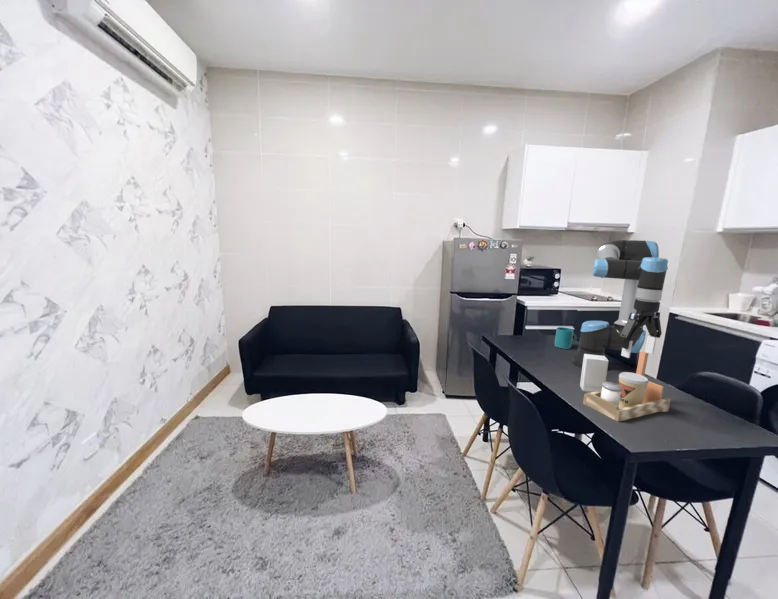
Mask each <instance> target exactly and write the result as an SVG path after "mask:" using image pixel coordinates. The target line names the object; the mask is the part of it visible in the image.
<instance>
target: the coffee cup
mask: <svg viewBox="0 0 778 599" xmlns="http://www.w3.org/2000/svg"><path fill="white" fill-rule="evenodd" d="M648 383H649V379H648V377H646V376H645V375H644V376H642V375H639V374H636V372H635V373H634V372H630V371H623V372H620V373H619V374H618V383H617V384H619V385H620V386H622V391H621V396H620V402H619V405H620V406H621V407H623V408H625V407H630V406H634V405H638V404H642V403H643V399H644V396H645V392H646V389H647V385H648Z"/></svg>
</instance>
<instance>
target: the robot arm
mask: <svg viewBox="0 0 778 599" xmlns="http://www.w3.org/2000/svg"><path fill="white" fill-rule="evenodd" d="M658 245H659V244H658V243H657V242H656V241H654V240H653V241H652V240H651V241H650V240H630V239H616V240H610V241H608V242H606V243H603V244H601V245H600V246H599V247H598V248H597V250H596V254H595V255H596V258H595V259H594V262H593V269H592V276H593V277H596V278H602V279H603V278H605V279H618V280H620V279H621V280H624V283H623V289H622V295H621V300H620V301H621V302H620V307H619V313H618V319H617V320H616V321H614V322H613V325H610V324H609V322H608V321H604V320H586V321H584V322H583V323H582V324H581V328H580V335H579V336H580V337H579V341H578V342H579V343H578V346H577V350H576V352H575V353H574V355H573V356H572V364H574V365H575V366H578V367H580V368H582V365H583V358H584V354H591V355H600V356H605V350H606V349H608V350H609V349H610V350H615V351H621V353H620V356H622V357H624V358H627V359H630V358H631V354H632V353H634V354H636V353H640V352H641V350H642V348H643V346H644V343H645V340H646V343H645V347H644V352H647V353H649V354H651V355H654V352H655V347H656V344H657V338H658V339H660V338H661V336H662V327H661V326H662V325H661V320H660V319H661V318H660V317H661V312H659V310H660V307H661V302H660V301H661V300H662V295H663V289H664V284H665V280H666V276H667V271H668V264H669V261H668V259H667V258H663V257H660V255H659V254H660V251H659V246H658ZM644 326H645V327H646V330H647V332H648V336H647V332H646V330H645V329H644V328H643V327H644ZM646 336H647V338H646ZM605 357H606V356H605Z"/></svg>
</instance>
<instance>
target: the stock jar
mask: <svg viewBox="0 0 778 599" xmlns="http://www.w3.org/2000/svg"><path fill="white" fill-rule="evenodd" d="M621 391H622V386H620V385H619V384H618V383H616V382H612V381H606V382H603V384H602V391H601V397H600V398H602V399H604V400H606V401H608V402H611V403H613V404H615V405H617V406H619V402H620V396H621Z"/></svg>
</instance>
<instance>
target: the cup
mask: <svg viewBox="0 0 778 599" xmlns="http://www.w3.org/2000/svg"><path fill="white" fill-rule="evenodd" d="M555 330H556V331H555V332H556V333H555V337H554V347H556V348H558V347H559V348H558V349H561V348H562V349H561V350H569V349H570V350H571V349H572V344H573V343H575V342H576V341H577V335H576V334H575V333H574V329H572V328H569V327H564V326H560V327H559V326H558V327H556V329H555ZM573 336H574V339H573Z"/></svg>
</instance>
